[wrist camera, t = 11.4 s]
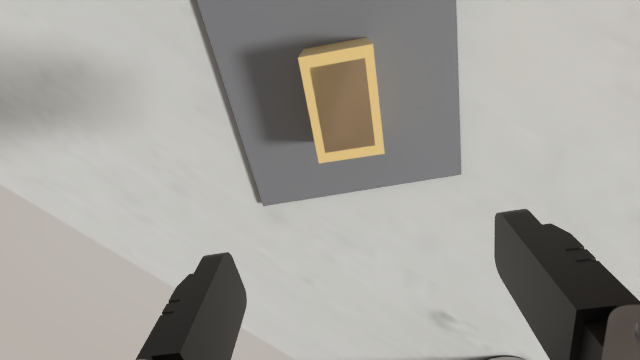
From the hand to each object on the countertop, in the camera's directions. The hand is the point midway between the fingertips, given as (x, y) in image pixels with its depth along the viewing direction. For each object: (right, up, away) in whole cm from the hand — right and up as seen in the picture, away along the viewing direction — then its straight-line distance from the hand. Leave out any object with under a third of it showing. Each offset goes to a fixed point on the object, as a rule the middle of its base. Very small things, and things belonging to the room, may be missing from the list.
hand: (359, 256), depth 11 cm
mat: (+1, +10, +18) cm, 20 cm away
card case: (+1, +9, +17) cm, 19 cm away
